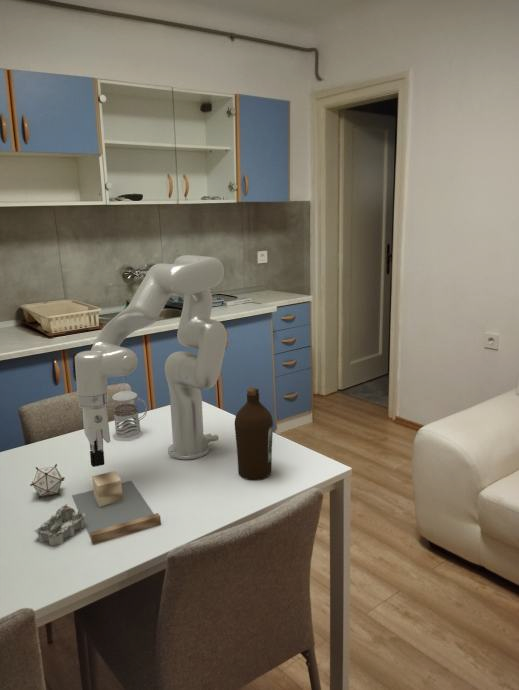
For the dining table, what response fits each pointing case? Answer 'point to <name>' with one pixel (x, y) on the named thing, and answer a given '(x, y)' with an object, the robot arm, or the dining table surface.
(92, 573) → the dining table surface
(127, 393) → the french press
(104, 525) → the grey rectangular board
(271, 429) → the olive oil
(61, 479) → the game die
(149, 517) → the rail
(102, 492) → the block
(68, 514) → the carved stone fragment
